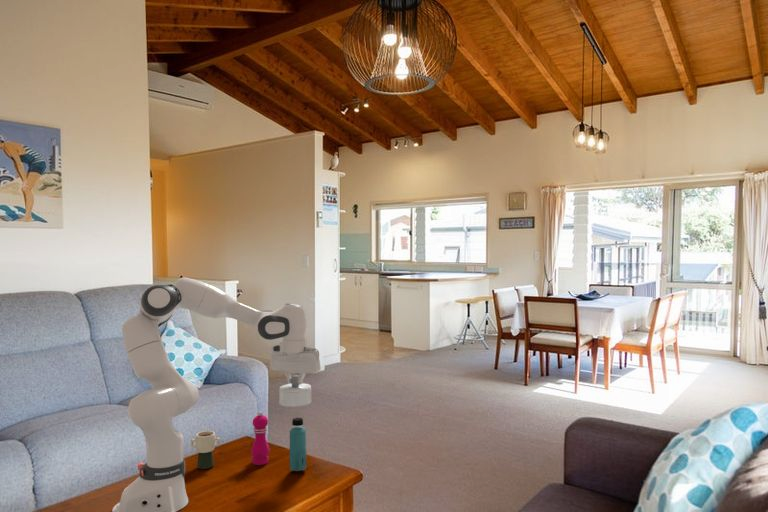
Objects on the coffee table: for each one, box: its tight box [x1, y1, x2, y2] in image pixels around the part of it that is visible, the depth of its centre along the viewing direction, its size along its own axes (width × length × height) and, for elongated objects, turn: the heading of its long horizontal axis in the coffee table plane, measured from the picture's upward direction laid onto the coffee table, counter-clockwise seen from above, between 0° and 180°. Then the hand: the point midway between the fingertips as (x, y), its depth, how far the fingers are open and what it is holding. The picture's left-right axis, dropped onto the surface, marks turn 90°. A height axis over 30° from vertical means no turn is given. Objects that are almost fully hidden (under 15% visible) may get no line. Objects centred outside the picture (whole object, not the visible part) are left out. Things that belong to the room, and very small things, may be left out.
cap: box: [278, 374, 312, 408], centre depth 194 cm, size 12×12×10 cm
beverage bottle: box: [288, 417, 308, 472], centre depth 196 cm, size 6×7×20 cm
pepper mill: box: [250, 410, 271, 466], centre depth 205 cm, size 7×7×20 cm
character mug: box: [190, 430, 221, 470], centre depth 200 cm, size 11×7×13 cm, turn 100°
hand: (295, 383), depth 194 cm, fingers closed on cap, 3 cm apart
